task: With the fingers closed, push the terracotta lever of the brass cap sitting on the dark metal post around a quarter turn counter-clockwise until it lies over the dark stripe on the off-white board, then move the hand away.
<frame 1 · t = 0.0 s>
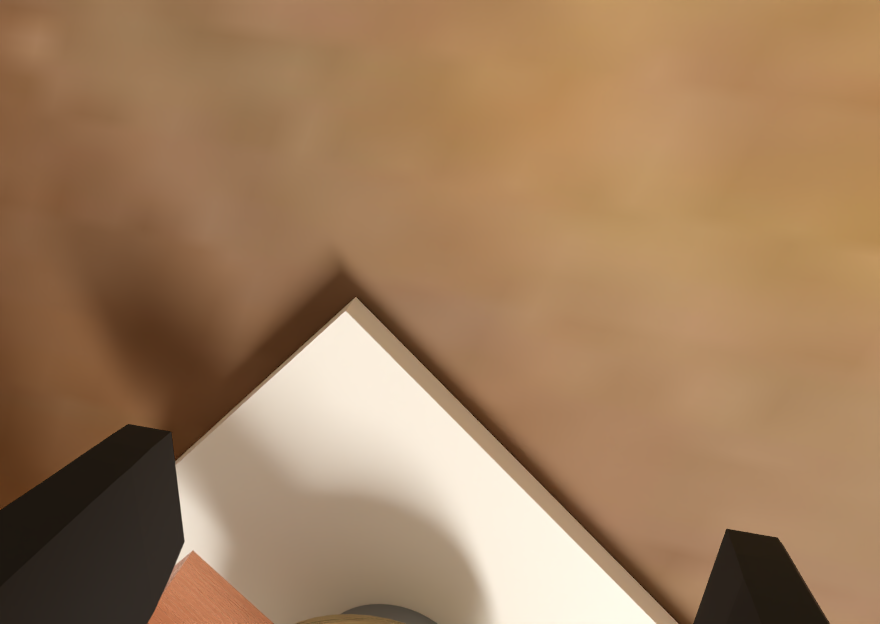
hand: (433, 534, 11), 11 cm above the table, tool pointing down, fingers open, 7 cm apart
board: (374, 619, 25), on the table
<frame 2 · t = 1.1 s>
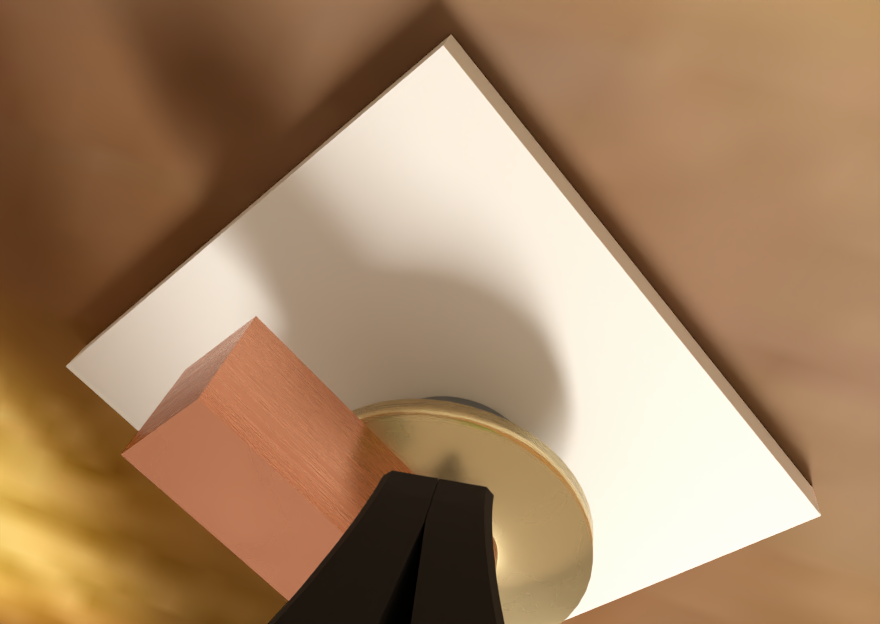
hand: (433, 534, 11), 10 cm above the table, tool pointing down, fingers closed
lever handle: (376, 537, 19), point 5 cm above the table, hinge at 0.0°
board: (434, 415, 23), on the table
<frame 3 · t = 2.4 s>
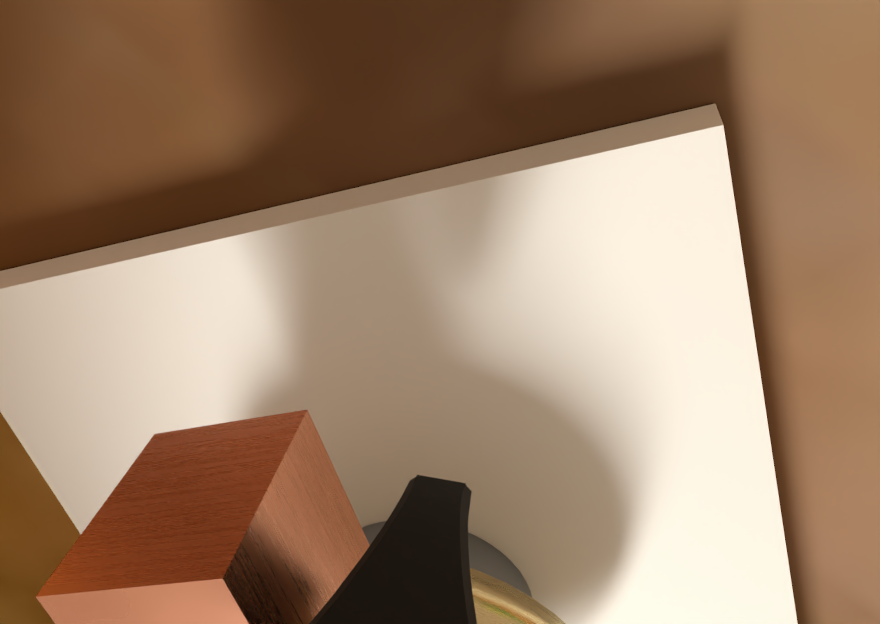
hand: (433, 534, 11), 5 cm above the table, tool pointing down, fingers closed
board: (420, 528, 18), on the table
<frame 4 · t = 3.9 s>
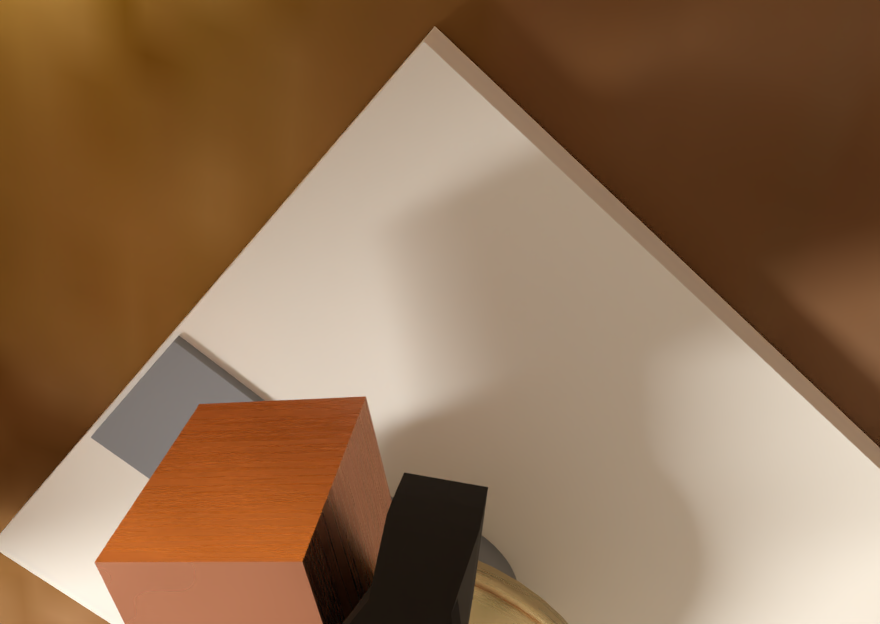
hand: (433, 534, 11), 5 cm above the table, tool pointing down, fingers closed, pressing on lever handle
board: (451, 529, 18), on the table
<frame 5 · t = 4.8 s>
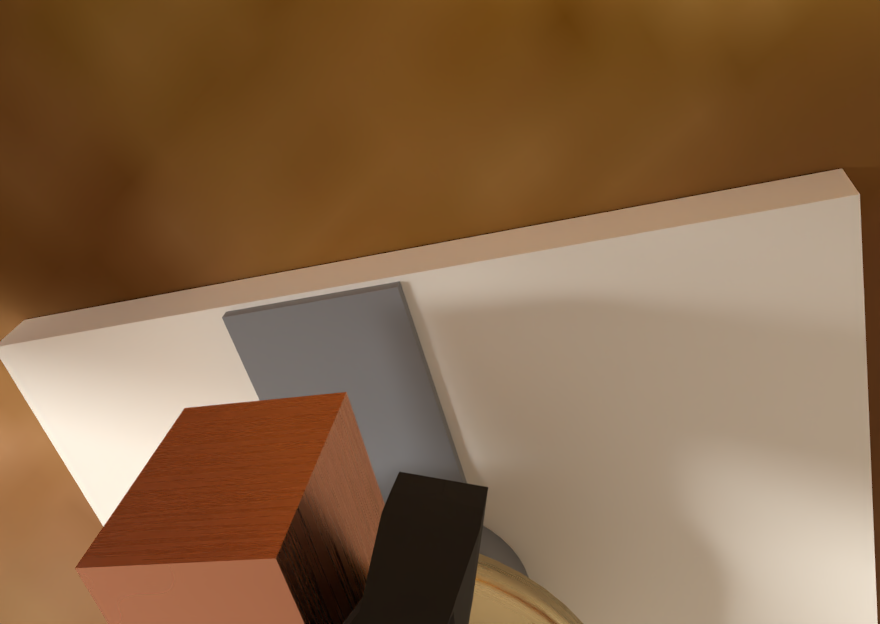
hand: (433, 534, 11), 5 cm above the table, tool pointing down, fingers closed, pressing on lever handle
board: (476, 544, 18), on the table
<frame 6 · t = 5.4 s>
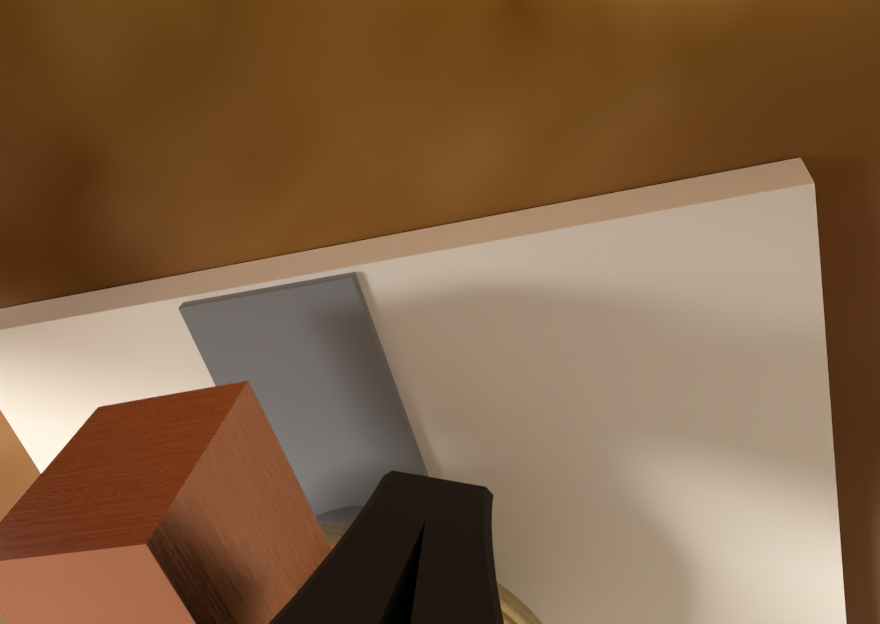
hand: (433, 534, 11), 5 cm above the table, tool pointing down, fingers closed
board: (444, 540, 18), on the table
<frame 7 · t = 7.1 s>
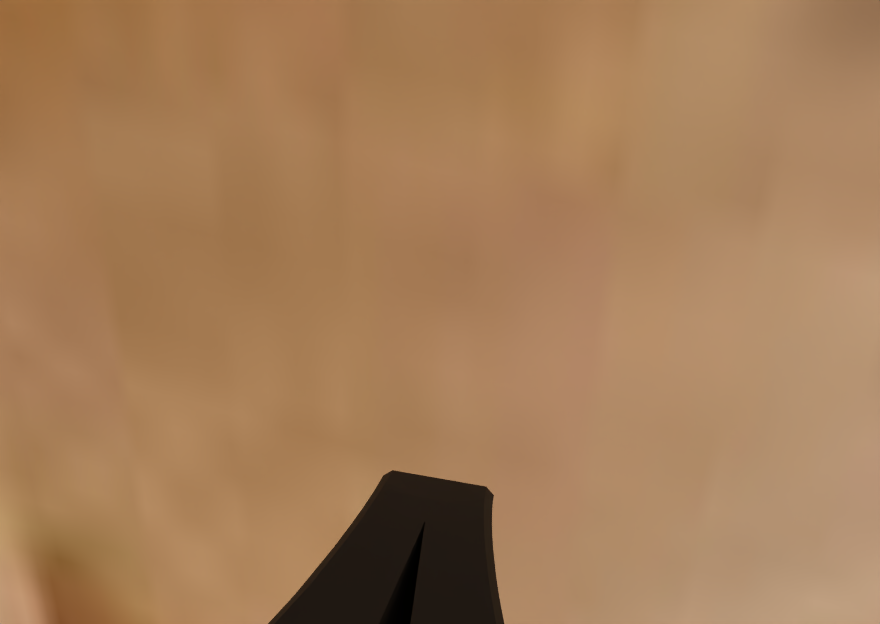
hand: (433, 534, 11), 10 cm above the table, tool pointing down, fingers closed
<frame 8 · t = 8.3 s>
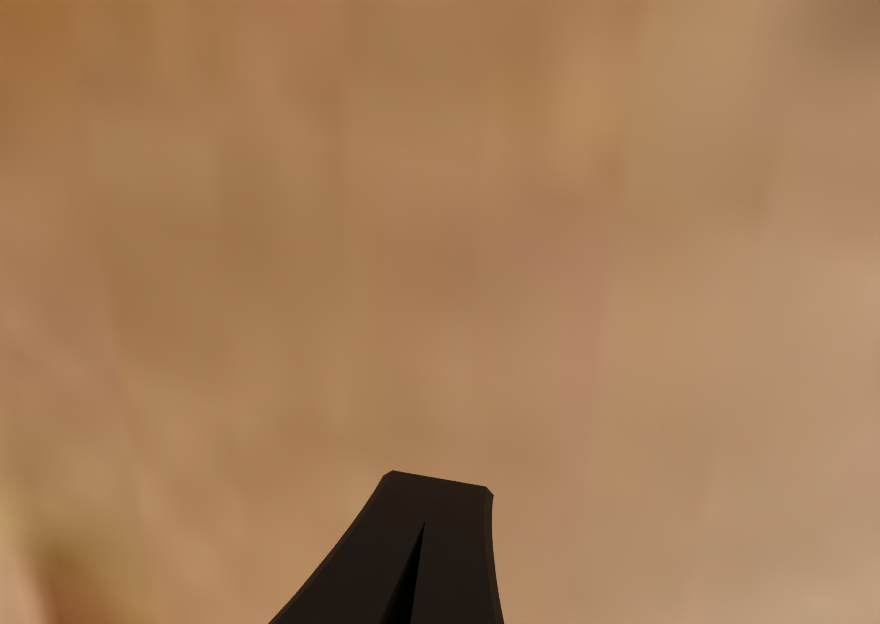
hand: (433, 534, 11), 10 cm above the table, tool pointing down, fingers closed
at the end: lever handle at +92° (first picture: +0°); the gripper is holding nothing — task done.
